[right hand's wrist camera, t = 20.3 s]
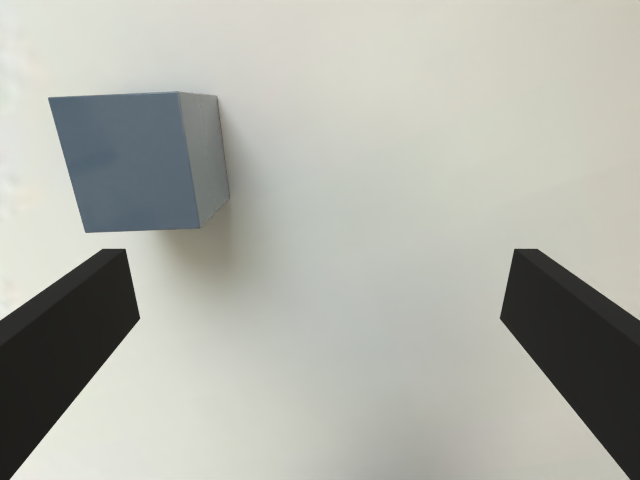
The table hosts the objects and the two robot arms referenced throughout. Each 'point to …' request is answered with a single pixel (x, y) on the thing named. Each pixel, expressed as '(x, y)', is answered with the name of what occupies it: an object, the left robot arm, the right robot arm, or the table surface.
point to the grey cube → (143, 159)
